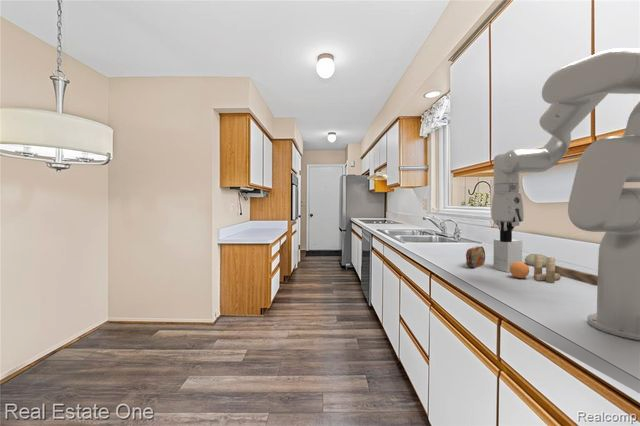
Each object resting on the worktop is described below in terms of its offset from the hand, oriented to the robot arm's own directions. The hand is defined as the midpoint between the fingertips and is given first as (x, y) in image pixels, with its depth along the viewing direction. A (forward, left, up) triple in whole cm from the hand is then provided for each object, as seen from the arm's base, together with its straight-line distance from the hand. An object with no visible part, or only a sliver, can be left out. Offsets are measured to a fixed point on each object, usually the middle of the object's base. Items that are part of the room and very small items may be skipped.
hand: (505, 241), depth 102 cm
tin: (+25, -6, -15) cm, 29 cm away
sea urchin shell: (+22, -33, -15) cm, 43 cm away
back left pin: (+3, -15, -14) cm, 21 cm away
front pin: (0, -12, -13) cm, 18 cm away
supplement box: (+16, -14, -15) cm, 26 cm away
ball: (+5, -9, -11) cm, 15 cm away
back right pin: (-2, -15, -14) cm, 21 cm away
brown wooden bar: (0, -28, -14) cm, 31 cm away
